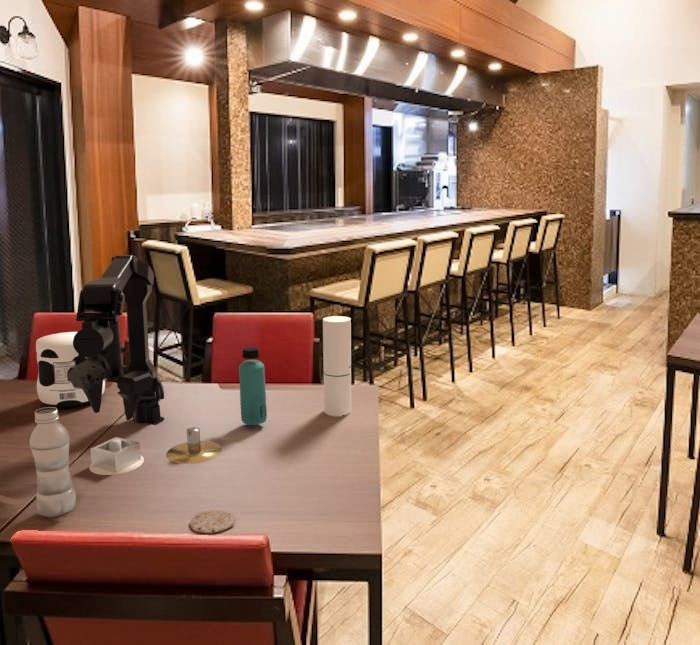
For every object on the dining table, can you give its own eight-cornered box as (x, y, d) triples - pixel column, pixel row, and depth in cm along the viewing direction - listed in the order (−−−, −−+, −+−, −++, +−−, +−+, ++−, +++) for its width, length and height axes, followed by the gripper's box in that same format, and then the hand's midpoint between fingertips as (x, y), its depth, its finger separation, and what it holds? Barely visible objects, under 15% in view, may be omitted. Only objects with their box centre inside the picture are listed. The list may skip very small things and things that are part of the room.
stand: (78, 471, 134) (75, 446, 132) (118, 452, 143) (115, 428, 142) (116, 482, 129) (113, 456, 127) (155, 461, 138) (153, 436, 137)
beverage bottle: (262, 431, 154) (259, 352, 150) (236, 429, 156) (233, 351, 151) (271, 421, 161) (268, 345, 156) (246, 420, 162) (242, 344, 157)
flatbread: (183, 533, 111) (182, 528, 110) (200, 511, 118) (200, 506, 118) (227, 537, 109) (227, 532, 109) (242, 515, 117) (242, 510, 116)
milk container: (83, 387, 188) (77, 328, 184) (119, 398, 179) (113, 336, 175) (26, 403, 175) (18, 340, 171) (61, 416, 165) (53, 349, 161)
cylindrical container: (354, 408, 170) (354, 317, 164) (345, 417, 163) (345, 322, 158) (329, 405, 172) (328, 315, 166) (320, 414, 165) (318, 321, 160)
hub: (155, 460, 139) (152, 434, 138) (191, 440, 149) (190, 416, 148) (198, 471, 134) (196, 444, 132) (232, 449, 144) (231, 424, 143)
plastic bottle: (45, 504, 120) (33, 404, 116) (82, 503, 121) (71, 403, 116) (31, 522, 114) (18, 417, 109) (70, 521, 114) (59, 416, 110)
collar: (92, 466, 134) (90, 448, 133) (117, 453, 140) (115, 436, 139) (116, 473, 131) (114, 455, 130) (141, 459, 137) (139, 442, 136)
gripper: (40, 348, 127) (49, 421, 131) (108, 359, 119) (115, 437, 122) (85, 336, 137) (92, 404, 140) (151, 345, 129) (157, 418, 132)
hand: (112, 415), depth 133 cm, fingers open, 9 cm apart
